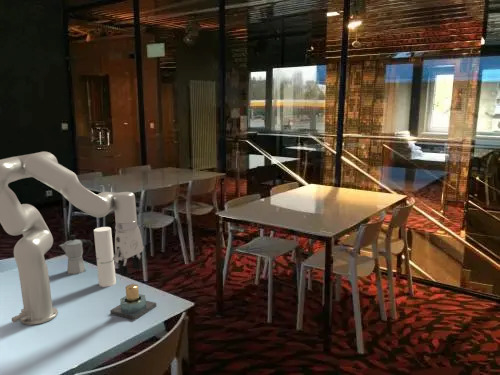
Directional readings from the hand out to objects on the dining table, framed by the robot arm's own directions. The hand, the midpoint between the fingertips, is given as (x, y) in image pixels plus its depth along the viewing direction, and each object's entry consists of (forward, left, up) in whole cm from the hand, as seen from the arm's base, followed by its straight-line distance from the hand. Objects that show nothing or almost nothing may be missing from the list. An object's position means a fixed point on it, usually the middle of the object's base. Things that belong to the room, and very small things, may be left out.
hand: (130, 271), depth 160 cm
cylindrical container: (+15, +29, -16) cm, 36 cm away
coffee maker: (+21, +54, -16) cm, 60 cm away
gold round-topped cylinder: (0, 0, -14) cm, 14 cm away
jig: (0, 0, -16) cm, 16 cm away
